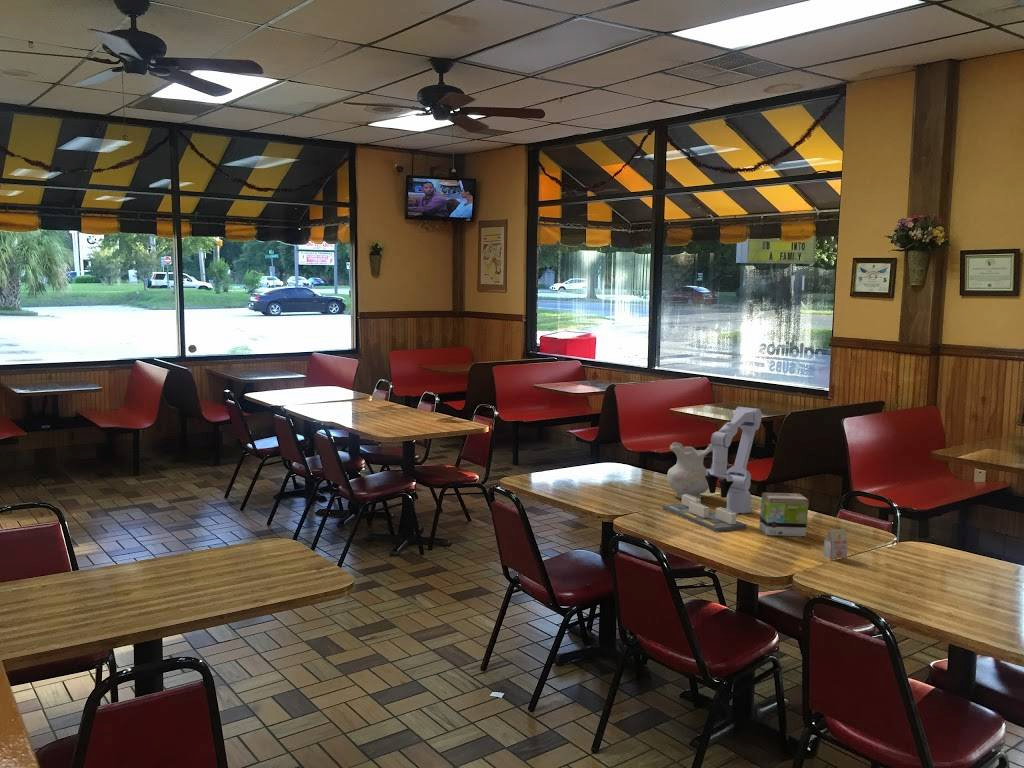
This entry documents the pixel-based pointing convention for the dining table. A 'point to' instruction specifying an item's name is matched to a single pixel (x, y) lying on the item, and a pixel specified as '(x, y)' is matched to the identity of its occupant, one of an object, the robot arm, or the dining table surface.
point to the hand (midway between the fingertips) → (718, 495)
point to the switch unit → (706, 522)
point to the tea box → (783, 514)
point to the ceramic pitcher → (688, 471)
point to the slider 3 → (725, 515)
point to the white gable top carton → (835, 544)
